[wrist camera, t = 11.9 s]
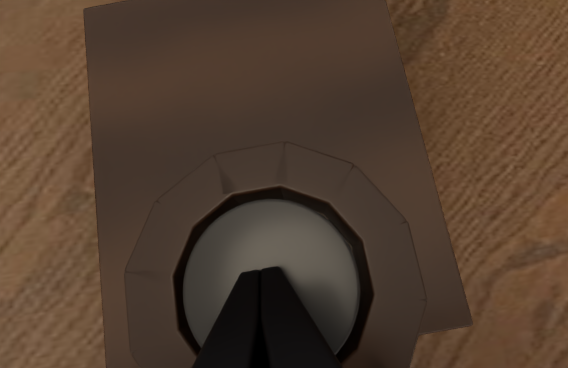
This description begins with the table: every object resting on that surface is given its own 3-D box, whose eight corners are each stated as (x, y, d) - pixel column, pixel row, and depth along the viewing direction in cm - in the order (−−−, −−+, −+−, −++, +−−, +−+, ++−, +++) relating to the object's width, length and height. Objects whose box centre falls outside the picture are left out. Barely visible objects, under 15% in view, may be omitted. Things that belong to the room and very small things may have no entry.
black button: (364, 346, 10) (379, 366, 8) (214, 372, 10) (192, 400, 8) (333, 199, 11) (340, 184, 9) (197, 223, 11) (172, 214, 9)
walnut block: (426, 343, 15) (532, 412, 8) (176, 386, 15) (67, 492, 8) (353, 42, 18) (384, -99, 11) (145, 81, 18) (46, -34, 11)
